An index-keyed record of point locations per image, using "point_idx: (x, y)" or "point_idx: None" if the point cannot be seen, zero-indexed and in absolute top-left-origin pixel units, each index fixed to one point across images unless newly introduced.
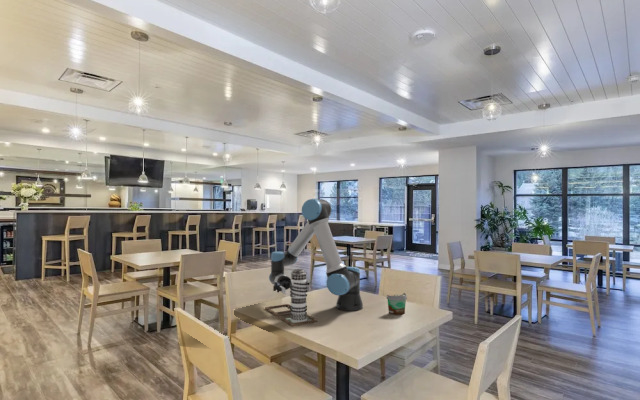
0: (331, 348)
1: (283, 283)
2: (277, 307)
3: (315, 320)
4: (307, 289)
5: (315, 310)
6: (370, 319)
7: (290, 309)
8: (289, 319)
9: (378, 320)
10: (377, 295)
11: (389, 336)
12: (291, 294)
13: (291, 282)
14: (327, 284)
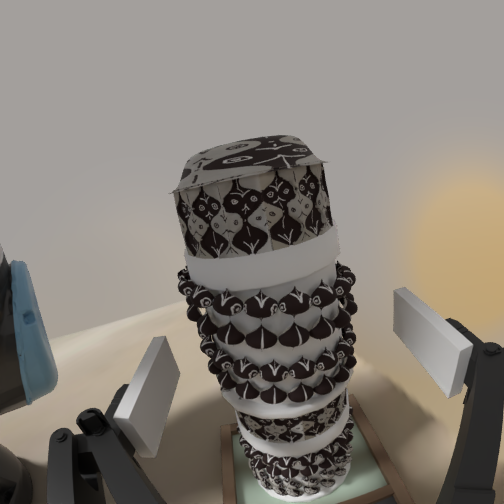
0: None
1: (455, 486)
2: None
3: (230, 425)
4: (171, 387)
5: None
6: (67, 391)
7: (351, 432)
8: (353, 473)
9: (63, 380)
10: None
11: (140, 320)
12: (343, 360)
13: (332, 287)
14: (43, 342)
